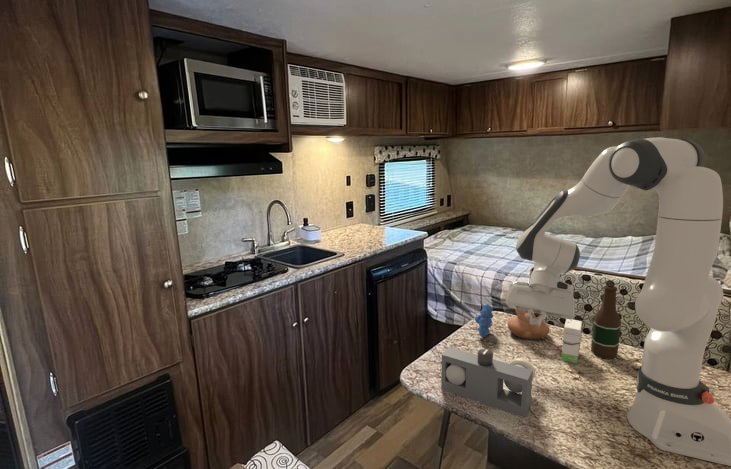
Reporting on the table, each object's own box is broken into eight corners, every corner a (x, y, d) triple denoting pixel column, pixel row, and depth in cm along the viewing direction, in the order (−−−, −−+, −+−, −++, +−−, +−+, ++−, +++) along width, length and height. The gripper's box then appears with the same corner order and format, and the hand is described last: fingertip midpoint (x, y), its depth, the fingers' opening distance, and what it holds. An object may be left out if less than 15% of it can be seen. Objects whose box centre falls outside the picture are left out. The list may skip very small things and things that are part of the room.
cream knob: (534, 384, 112) (536, 361, 110) (527, 399, 105) (529, 375, 104) (508, 377, 116) (510, 355, 114) (500, 390, 109) (501, 367, 108)
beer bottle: (617, 351, 134) (624, 284, 129) (617, 361, 127) (625, 291, 122) (591, 346, 138) (597, 281, 133) (589, 355, 131) (596, 288, 126)
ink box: (578, 364, 126) (581, 330, 124) (561, 360, 129) (563, 327, 127) (579, 352, 134) (582, 320, 131) (563, 349, 136) (566, 317, 134)
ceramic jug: (547, 348, 137) (551, 309, 134) (504, 339, 143) (507, 303, 141) (549, 328, 153) (552, 294, 150) (510, 322, 159) (512, 288, 157)
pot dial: (494, 361, 108) (495, 350, 108) (489, 367, 105) (490, 356, 104) (480, 357, 111) (480, 346, 110) (475, 363, 107) (475, 352, 107)
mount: (530, 407, 106) (532, 370, 103) (525, 418, 101) (527, 380, 99) (448, 380, 119) (449, 346, 117) (441, 388, 115) (441, 354, 113)
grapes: (478, 327, 155) (479, 298, 153) (495, 330, 151) (497, 301, 149) (469, 338, 145) (469, 308, 143) (487, 342, 142) (488, 312, 139)
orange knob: (476, 377, 116) (477, 355, 114) (466, 390, 109) (467, 367, 108) (453, 370, 120) (454, 348, 119) (443, 382, 114) (443, 360, 112)
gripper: (509, 276, 131) (499, 313, 125) (577, 286, 119) (570, 328, 113) (512, 285, 135) (502, 321, 130) (578, 296, 124) (571, 336, 118)
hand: (534, 324), depth 121 cm, fingers closed
